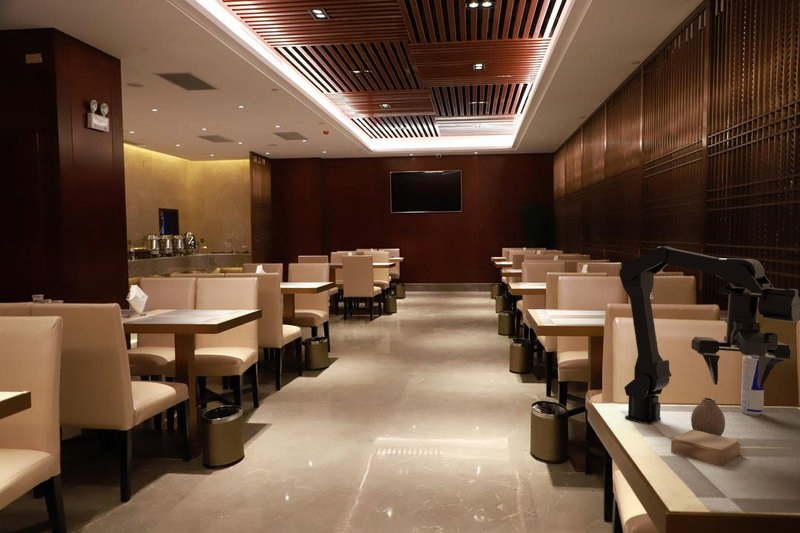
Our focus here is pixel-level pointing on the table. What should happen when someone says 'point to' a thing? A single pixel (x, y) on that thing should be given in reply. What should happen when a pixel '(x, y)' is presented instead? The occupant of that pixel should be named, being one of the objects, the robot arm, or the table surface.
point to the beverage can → (751, 387)
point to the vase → (708, 417)
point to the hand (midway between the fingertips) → (737, 385)
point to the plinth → (706, 447)
